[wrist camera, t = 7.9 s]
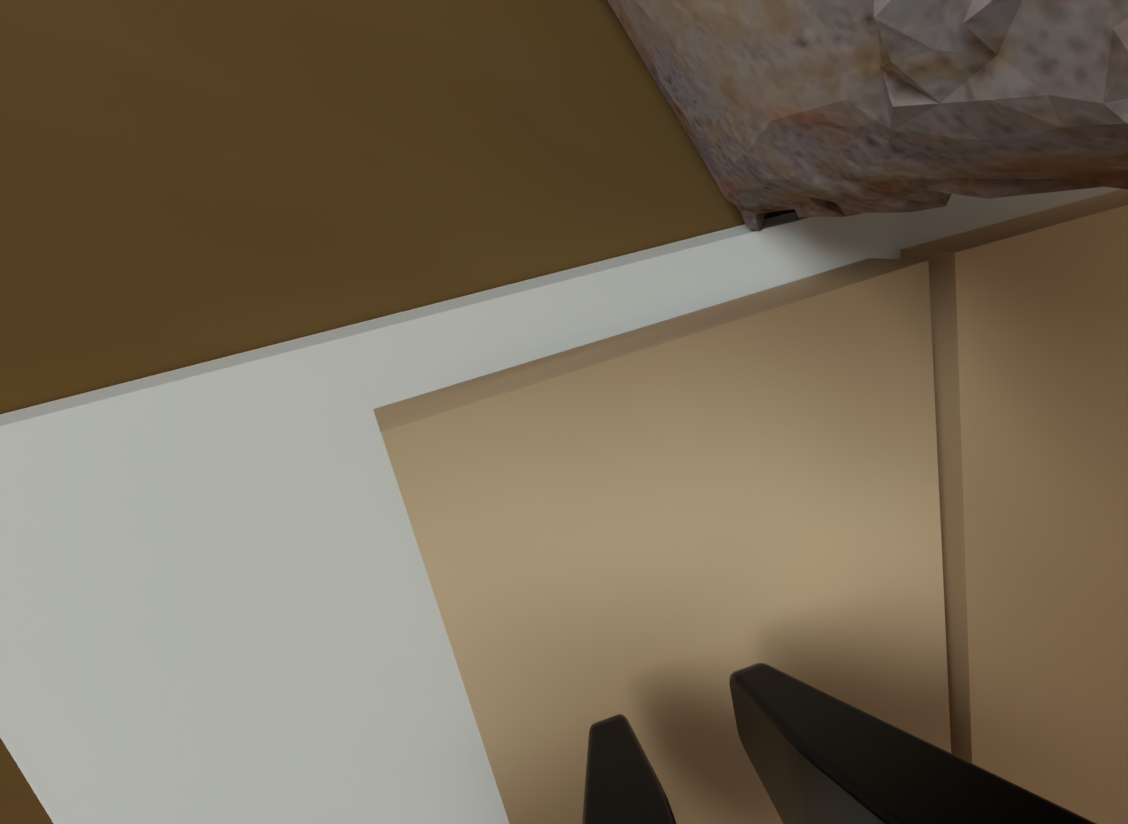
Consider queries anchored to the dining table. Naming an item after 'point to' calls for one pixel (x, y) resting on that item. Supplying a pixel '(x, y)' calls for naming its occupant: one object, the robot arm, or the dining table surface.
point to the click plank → (688, 533)
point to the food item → (891, 98)
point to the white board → (398, 575)
